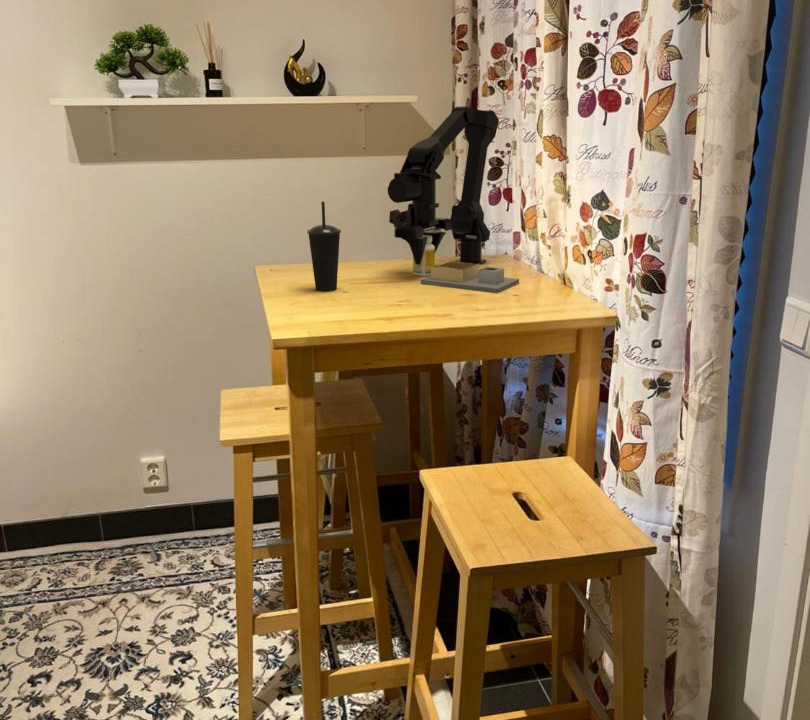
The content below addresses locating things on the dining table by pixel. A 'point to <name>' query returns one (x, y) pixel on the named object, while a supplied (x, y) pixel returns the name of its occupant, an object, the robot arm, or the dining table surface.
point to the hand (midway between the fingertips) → (423, 262)
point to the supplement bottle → (425, 259)
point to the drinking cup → (324, 254)
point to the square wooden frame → (454, 271)
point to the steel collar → (491, 275)
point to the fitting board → (473, 284)
